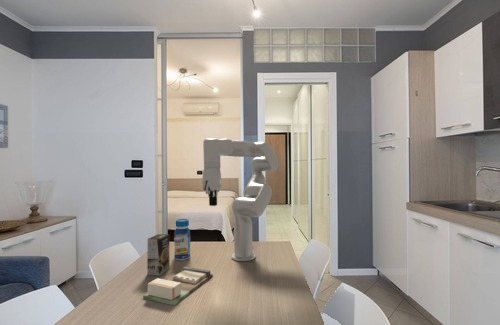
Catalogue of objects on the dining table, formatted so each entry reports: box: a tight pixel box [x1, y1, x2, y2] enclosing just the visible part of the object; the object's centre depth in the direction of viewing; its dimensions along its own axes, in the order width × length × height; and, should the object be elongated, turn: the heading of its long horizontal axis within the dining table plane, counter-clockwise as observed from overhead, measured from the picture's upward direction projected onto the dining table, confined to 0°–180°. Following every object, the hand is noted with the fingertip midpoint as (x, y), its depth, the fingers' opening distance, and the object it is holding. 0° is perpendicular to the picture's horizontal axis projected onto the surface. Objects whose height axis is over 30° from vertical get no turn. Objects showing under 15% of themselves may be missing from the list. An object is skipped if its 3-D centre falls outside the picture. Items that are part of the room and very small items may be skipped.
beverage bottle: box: [173, 218, 191, 261], centre depth 140 cm, size 8×8×20 cm
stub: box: [147, 277, 181, 300], centre depth 97 cm, size 5×11×4 cm, turn 68°
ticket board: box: [142, 266, 214, 306], centre depth 106 cm, size 26×14×3 cm, turn 158°
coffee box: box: [146, 233, 171, 277], centre depth 122 cm, size 9×6×16 cm
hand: (213, 205), depth 121 cm, fingers closed
